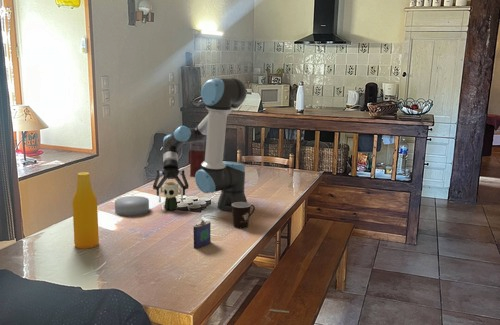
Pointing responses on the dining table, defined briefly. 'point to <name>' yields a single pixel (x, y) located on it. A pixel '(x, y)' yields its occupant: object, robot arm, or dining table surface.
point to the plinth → (131, 206)
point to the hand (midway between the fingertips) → (170, 200)
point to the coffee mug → (241, 214)
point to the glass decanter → (196, 156)
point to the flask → (202, 234)
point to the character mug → (170, 194)
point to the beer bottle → (85, 213)
